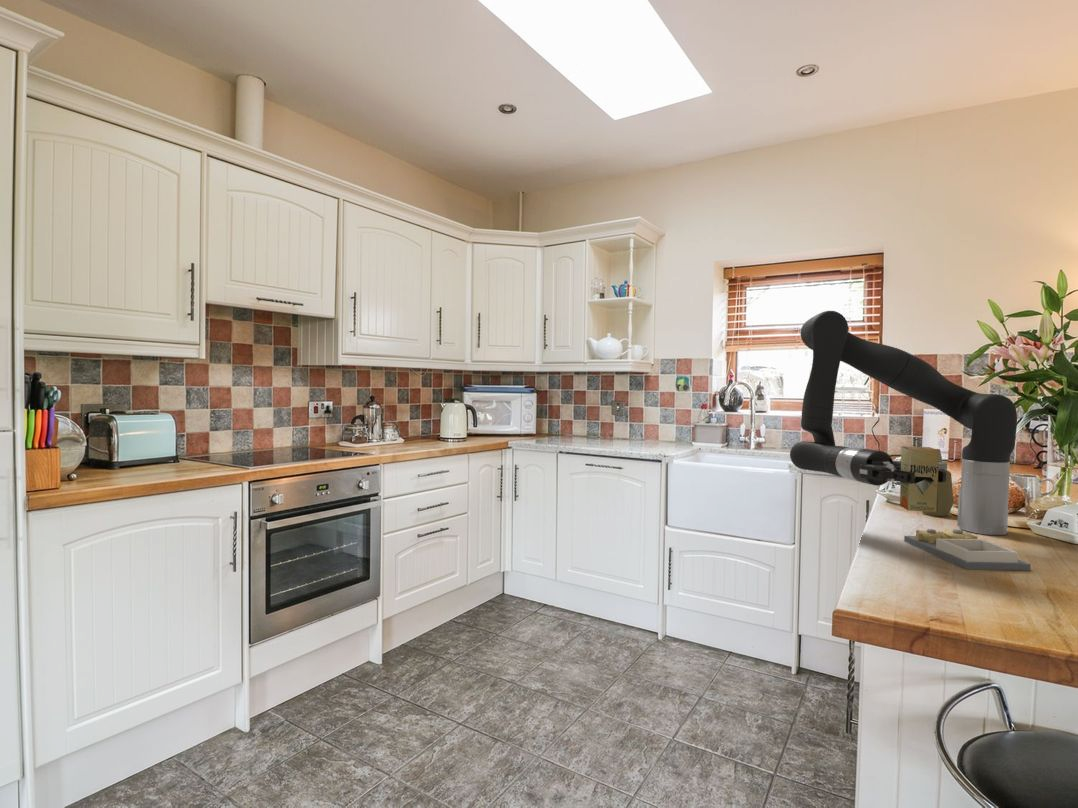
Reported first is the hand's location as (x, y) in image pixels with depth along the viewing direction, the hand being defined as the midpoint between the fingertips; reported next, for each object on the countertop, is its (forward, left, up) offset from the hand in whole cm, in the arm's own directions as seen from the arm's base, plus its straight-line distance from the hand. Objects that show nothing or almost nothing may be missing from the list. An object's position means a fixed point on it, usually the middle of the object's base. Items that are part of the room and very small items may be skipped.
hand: (928, 477), depth 113 cm
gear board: (-8, +12, -17) cm, 23 cm away
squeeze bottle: (-47, +31, -17) cm, 59 cm away
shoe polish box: (-2, 0, -7) cm, 7 cm away
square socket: (-4, +12, -16) cm, 20 cm away
